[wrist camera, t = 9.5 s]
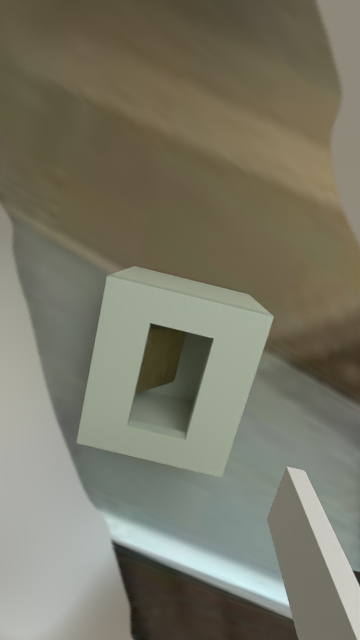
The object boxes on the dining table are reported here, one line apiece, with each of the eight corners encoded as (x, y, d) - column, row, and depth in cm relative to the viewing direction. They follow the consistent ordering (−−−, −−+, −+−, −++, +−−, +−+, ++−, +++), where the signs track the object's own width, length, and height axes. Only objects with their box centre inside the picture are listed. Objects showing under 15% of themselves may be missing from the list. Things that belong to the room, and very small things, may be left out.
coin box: (134, 266, 37) (107, 275, 25) (248, 294, 37) (273, 316, 25) (109, 386, 41) (76, 442, 29) (213, 411, 41) (221, 477, 29)
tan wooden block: (168, 317, 37) (124, 320, 32) (187, 326, 36) (144, 330, 30) (156, 370, 39) (112, 382, 33) (174, 381, 37) (130, 395, 32)
